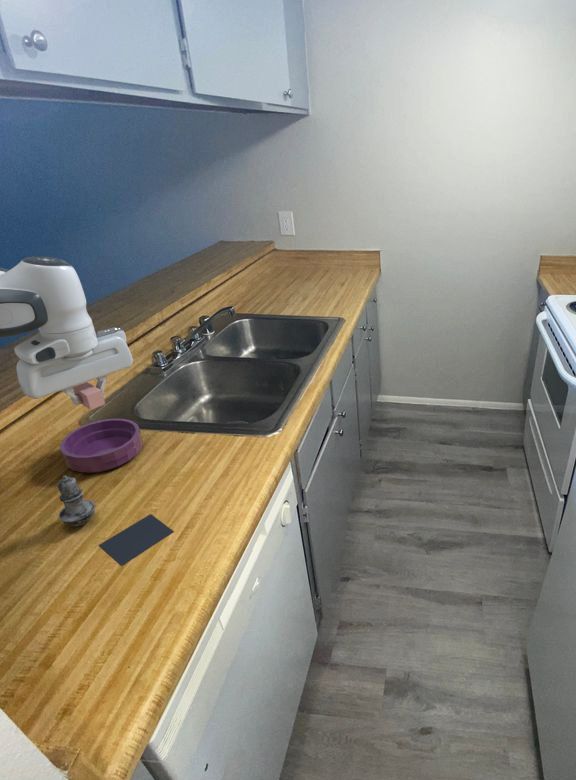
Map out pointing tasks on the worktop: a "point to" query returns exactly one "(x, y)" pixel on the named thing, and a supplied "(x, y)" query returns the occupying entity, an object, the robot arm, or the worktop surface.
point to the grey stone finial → (74, 503)
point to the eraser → (89, 395)
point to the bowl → (101, 445)
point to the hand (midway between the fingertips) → (89, 399)
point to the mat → (135, 539)
